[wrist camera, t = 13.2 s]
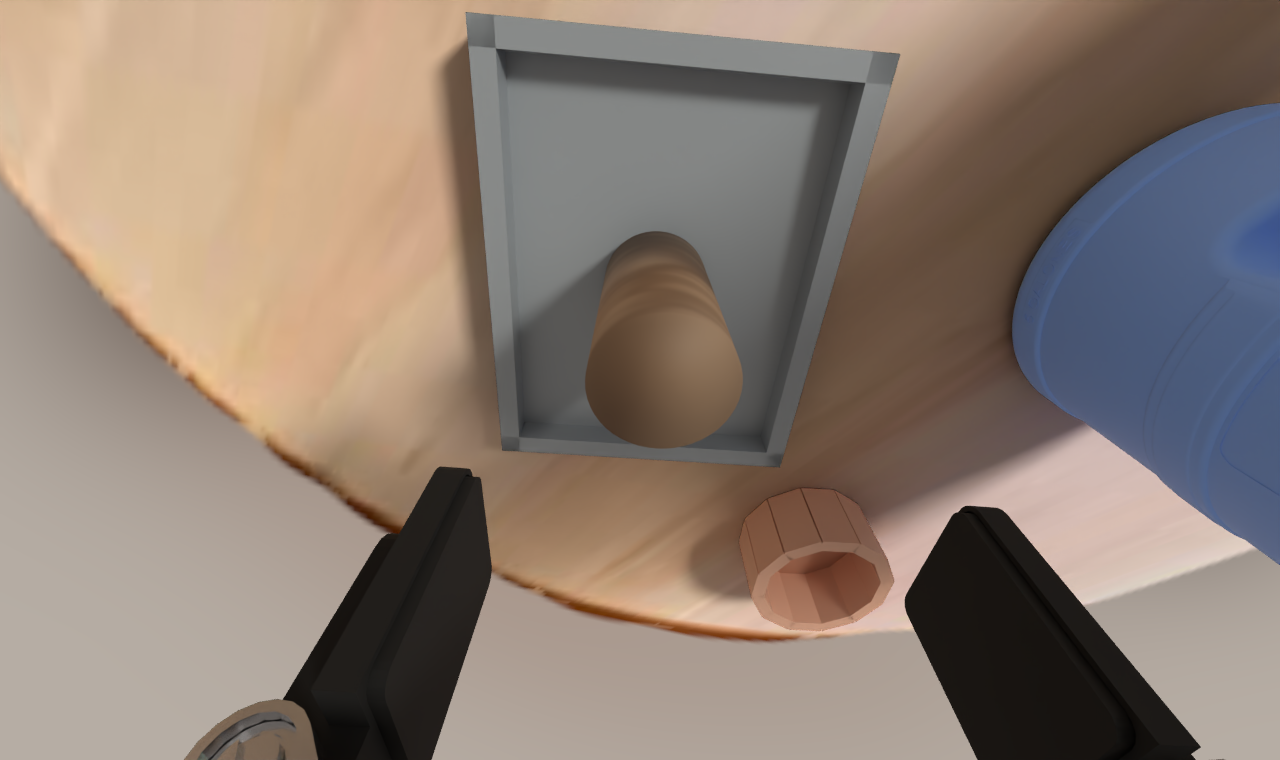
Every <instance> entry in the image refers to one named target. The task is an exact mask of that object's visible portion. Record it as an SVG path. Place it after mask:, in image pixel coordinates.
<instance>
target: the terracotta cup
mask: <svg viewBox="0 0 1280 760" xmlns="http://www.w3.org/2000/svg"><path fill="white" fill-rule="evenodd" d="M739 545H740V549H741V554H742V558H743V563H744V567H745V572H746V576H747V581H748V585H749V590H750V594H751V598H752V600H753V602H754V604H755V605H756V607H757V609H758V611H759V612H760V614H761V616H762V617H763V618H764V619H767V620H769V621H771V622H773V623H775V624H777V625H780V626H782V627H784V628H786V629H789V630H809V631H821V630H822V631H824V630H828V629H831V628H835V627H839V626H843V625H847V624H850V623H854V621H856V622H857V621H858V620H860V619H861V618H863V617H864V616H866V615H867V614H869V613H870V612H872V611H873V610H875V609H876V608H878V607H879V606H881V605H882V604H883V602H884V600H885V598H886V596H887V595H888V593H889V591H890V589H891V587H892V585H893V583H894V578H893V575H892V572H891V568H890V565H889V562H888V559H887V557H886V555H885V554H884V552H883V550H882V548H881V546H880V544H879V542H878V540H877V539H876V537H875V535H874V533H873V531H872V529H871V527H870V526H869V524H868V522H867V520H866V518H865V516H864V514H863V512H862V511H861V509H860V507H859V505H858V504H857V503H855V502H854V501H852V500H850V499H849V498H847V497H845V496H844V495H842V494H840V493H839V492H837V491H835V490H828V489H812V488H801V489H800V488H798V489H795V490H792V491H789V492H786V493H783V494H780V495H777V496H774V497H771V498H768V500H767V499H766V500H765V501H764V502H763V503H762V504H761V505H760V506H759V507H757V508H756V509H755V510H754V511H753V512H752V513H751V514H750V515H749V516H747V517H746V518H745V520H744V524H743V527H742V531H741V535H740V539H739Z"/></svg>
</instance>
